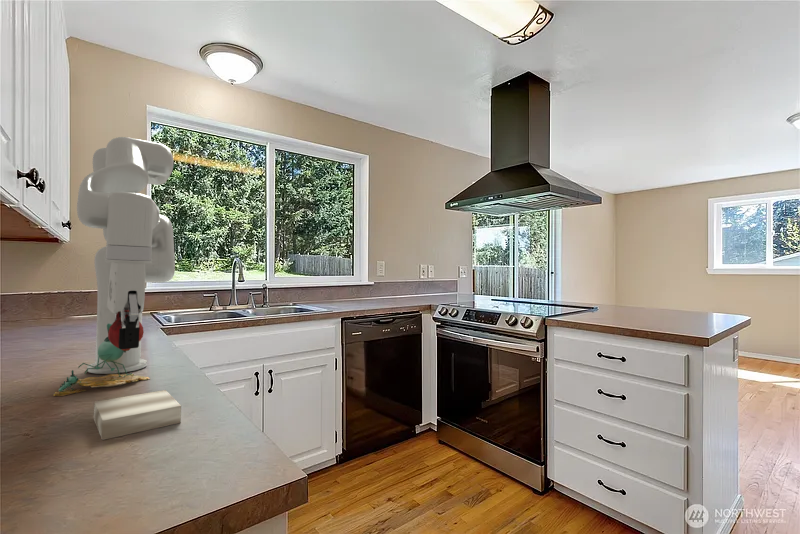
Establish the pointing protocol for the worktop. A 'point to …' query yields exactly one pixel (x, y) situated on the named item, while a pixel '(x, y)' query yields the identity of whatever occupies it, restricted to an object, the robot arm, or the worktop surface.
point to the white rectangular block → (135, 413)
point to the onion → (114, 332)
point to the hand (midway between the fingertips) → (125, 344)
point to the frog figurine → (108, 355)
